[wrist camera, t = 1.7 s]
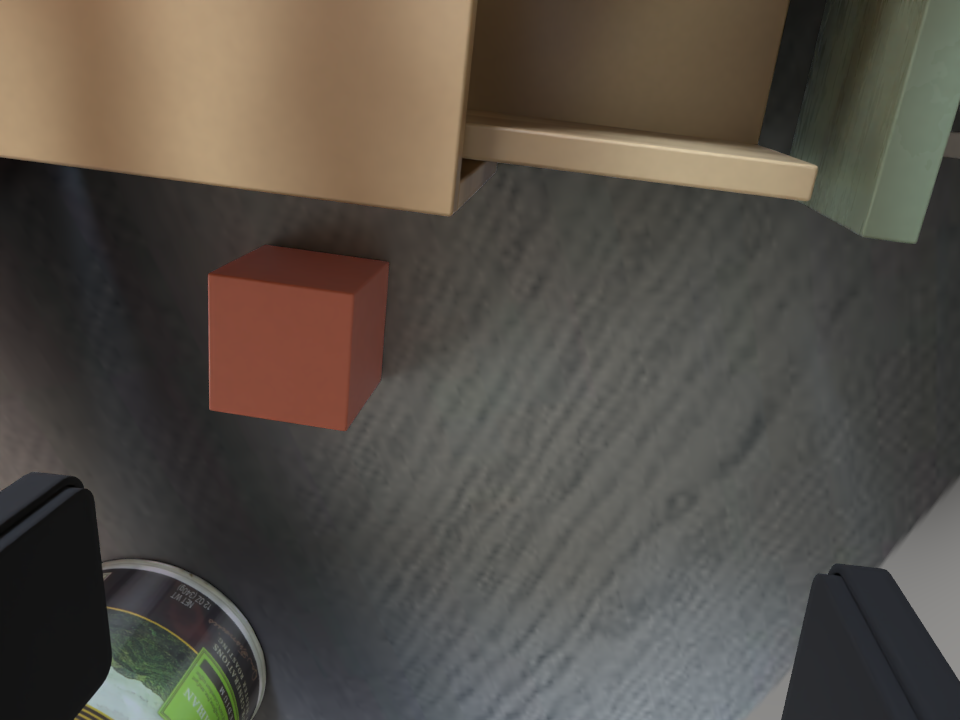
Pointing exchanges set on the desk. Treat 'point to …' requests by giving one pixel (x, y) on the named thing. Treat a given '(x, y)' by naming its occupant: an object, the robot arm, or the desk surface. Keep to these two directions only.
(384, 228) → the desk surface
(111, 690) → the coffee can
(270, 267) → the block
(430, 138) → the cabinet
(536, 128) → the drawer
